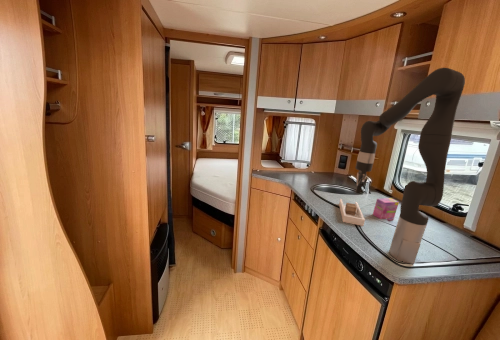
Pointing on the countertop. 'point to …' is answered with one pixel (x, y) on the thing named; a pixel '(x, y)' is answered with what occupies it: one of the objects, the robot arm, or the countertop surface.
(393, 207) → the box
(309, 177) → the countertop surface
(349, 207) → the block
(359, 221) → the trough
